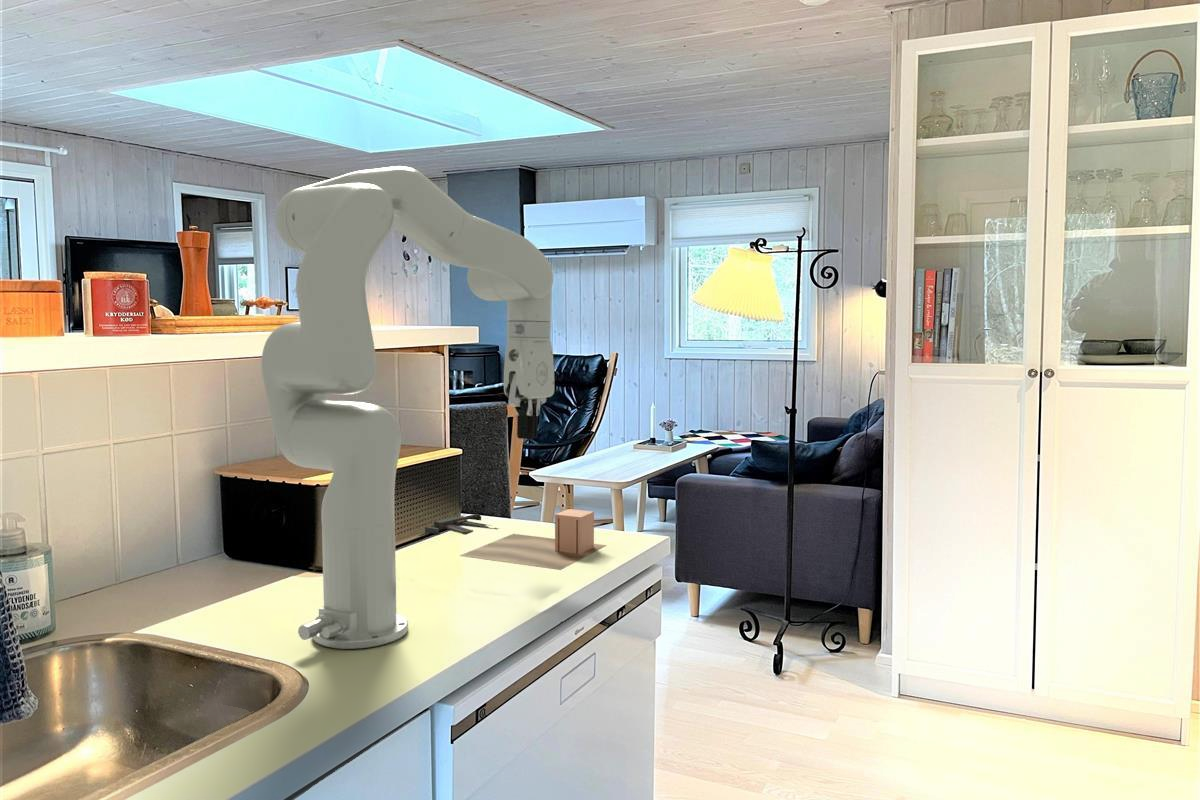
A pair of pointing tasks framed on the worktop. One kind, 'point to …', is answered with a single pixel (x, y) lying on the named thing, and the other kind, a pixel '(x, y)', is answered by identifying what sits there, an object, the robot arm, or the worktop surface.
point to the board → (528, 552)
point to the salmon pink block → (574, 531)
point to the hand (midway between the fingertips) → (527, 438)
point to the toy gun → (457, 521)
